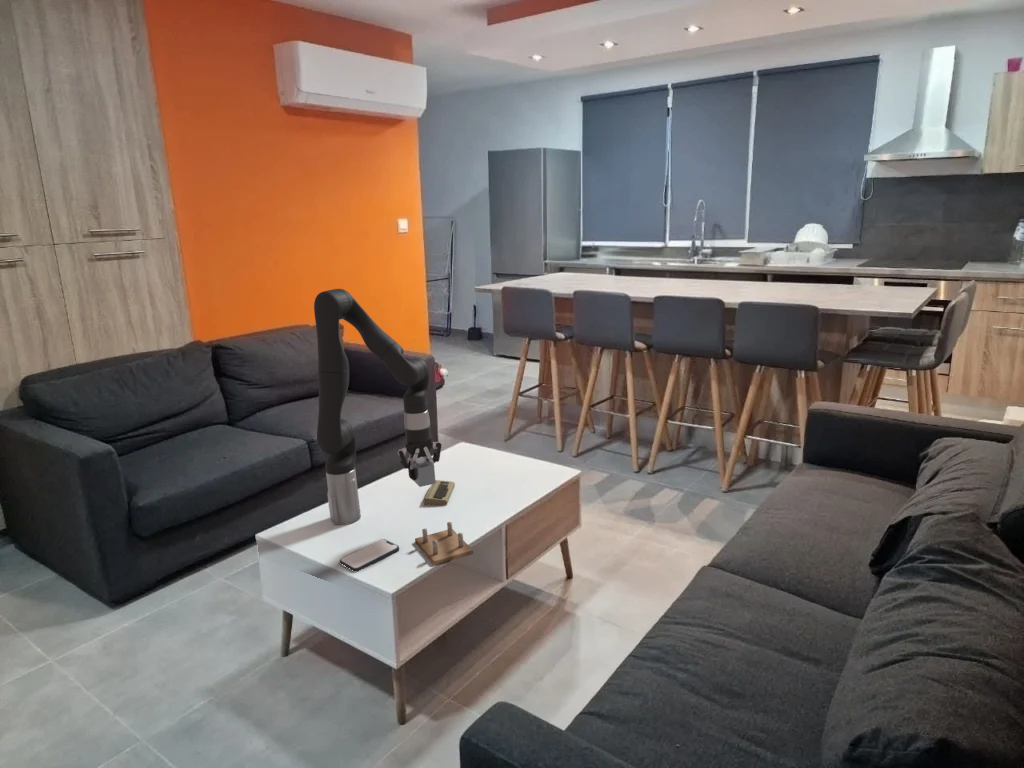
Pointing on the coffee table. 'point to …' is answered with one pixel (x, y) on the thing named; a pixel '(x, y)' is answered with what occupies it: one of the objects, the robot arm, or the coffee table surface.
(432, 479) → the block
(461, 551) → the tray
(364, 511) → the coffee table surface
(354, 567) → the smartphone
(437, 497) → the computer
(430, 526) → the coffee table surface
